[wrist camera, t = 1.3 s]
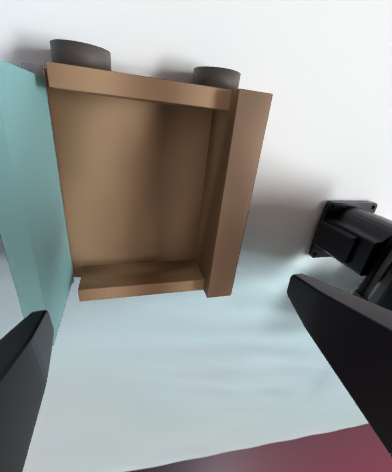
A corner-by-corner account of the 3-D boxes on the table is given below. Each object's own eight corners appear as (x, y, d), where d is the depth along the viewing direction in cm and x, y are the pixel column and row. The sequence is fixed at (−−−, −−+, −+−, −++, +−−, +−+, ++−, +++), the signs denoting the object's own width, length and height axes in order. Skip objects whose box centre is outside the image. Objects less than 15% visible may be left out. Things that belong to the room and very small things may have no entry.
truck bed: (235, 79, 17) (278, 67, 13) (208, 269, 24) (228, 306, 20) (47, 47, 14) (9, 15, 9) (78, 278, 21) (66, 326, 16)
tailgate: (45, 67, 13) (-17, 33, 7) (75, 278, 19) (54, 351, 13) (24, 65, 13) (-59, 26, 7) (61, 279, 19) (34, 354, 13)
